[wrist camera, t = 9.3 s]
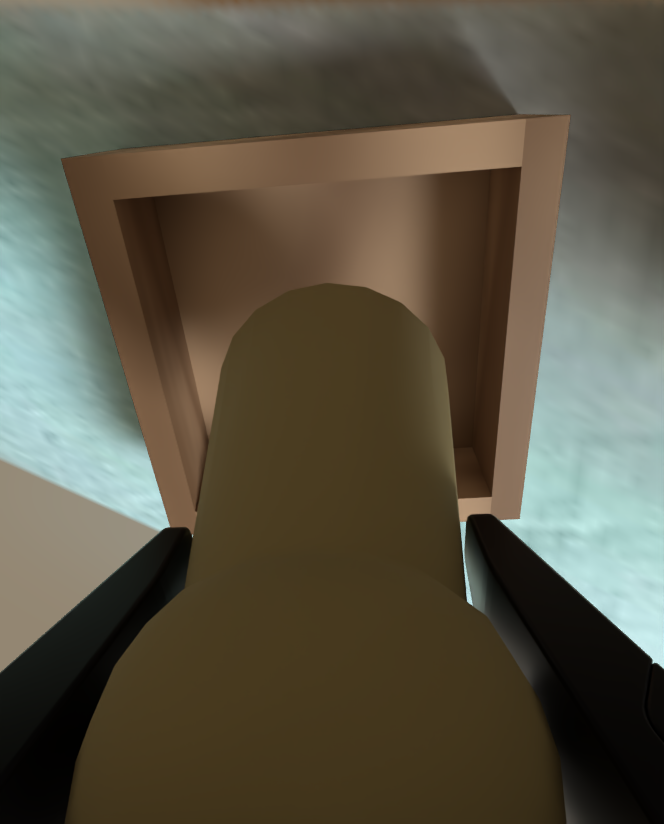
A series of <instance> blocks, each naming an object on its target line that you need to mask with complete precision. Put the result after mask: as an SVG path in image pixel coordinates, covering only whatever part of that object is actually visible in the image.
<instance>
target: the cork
mask: <svg viewBox="0 0 664 824" xmlns="http://www.w3.org/2000/svg"><path fill="white" fill-rule="evenodd" d="M65 824H567V821H566V811H565V801H564V791H563V781H562V771H561V761H560V755H559V753H558V750H557V747H556V744H555V741H554V738H553V735H552V733H551V730H550V727H549V724H548V721H547V718H546V715H545V713H544V710H543V707H542V704H541V701H540V699H539V698H538V696H537V694H536V693H535V691H534V690H533V688H532V686H531V685H530V683H529V682H528V680H527V678H526V677H525V675H524V674H523V672H522V670H521V669H520V667H519V666H518V664H517V662H516V661H515V659H514V658H513V656H512V654H511V653H510V651H509V650H508V648H507V647H506V645H505V644H504V642H503V640H502V639H501V637H500V636H499V634H498V633H497V631H496V629H495V628H494V626H493V625H492V623H491V622H490V620H489V618H488V617H487V616H486V615H485V614H483V613H482V612H480V611H479V610H478V609H476V608H475V607H473V606H472V605H471V604H469V603H468V602H467V597H466V585H465V574H464V563H463V551H462V540H461V529H460V518H459V506H458V495H457V484H456V472H455V461H454V450H453V438H452V427H451V416H450V404H449V393H448V384H447V376H446V368H445V359H444V357H443V355H442V353H441V351H440V349H439V347H438V345H437V343H436V341H435V339H434V337H433V335H432V333H431V332H430V330H429V328H428V327H427V326H426V325H425V324H424V323H423V322H422V321H421V320H420V319H419V318H417V317H416V316H415V315H414V314H413V313H412V312H411V311H410V310H409V309H408V308H407V307H406V306H405V305H403V304H402V303H401V302H399V301H397V300H394V299H392V298H390V297H388V296H385V295H383V294H381V293H379V292H376V291H374V290H372V289H370V288H367V287H362V286H352V285H343V284H334V283H323V284H319V285H314V286H309V287H304V288H299V289H295V290H290V291H287V292H285V293H284V294H282V295H280V296H279V297H277V298H275V299H273V300H272V301H270V302H268V303H266V304H265V305H263V306H261V307H260V308H258V309H256V310H255V311H254V312H253V314H252V315H251V316H250V317H249V318H248V319H247V321H246V322H245V323H244V324H243V325H242V326H241V328H240V329H239V330H238V331H237V332H236V333H235V335H234V336H233V337H232V340H231V343H230V346H229V348H228V351H227V354H226V356H225V359H224V362H223V364H222V367H221V372H220V378H219V384H218V390H217V396H216V402H215V408H214V414H213V420H212V426H211V432H210V438H209V444H208V450H207V456H206V462H205V468H204V474H203V480H202V486H201V492H200V498H199V504H198V510H197V516H196V522H195V528H194V534H193V540H192V546H191V552H190V558H189V564H188V570H187V576H186V582H185V588H184V589H183V590H182V591H181V592H180V593H179V594H178V595H176V596H175V597H174V598H173V599H172V600H171V601H170V602H169V603H168V604H167V605H166V606H165V607H163V608H162V609H161V610H160V611H159V612H158V613H157V614H156V615H155V616H154V617H153V618H152V619H150V620H149V621H148V622H147V623H146V624H145V626H144V627H143V628H142V630H141V631H140V632H139V634H138V635H137V636H136V638H135V639H134V640H133V642H132V643H131V644H130V646H129V647H128V648H127V650H126V651H125V652H124V654H123V655H122V656H121V658H120V659H119V660H118V662H117V663H116V664H115V666H114V668H113V670H112V673H111V675H110V677H109V680H108V682H107V684H106V687H105V689H104V691H103V693H102V696H101V698H100V700H99V703H98V705H97V707H96V710H95V712H94V714H93V716H92V719H91V721H90V724H89V727H88V729H87V732H86V735H85V737H84V740H83V743H82V745H81V748H80V751H79V754H78V756H77V759H76V762H75V767H74V773H73V779H72V784H71V790H70V796H69V801H68V807H67V812H66V818H65Z"/></svg>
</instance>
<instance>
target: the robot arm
mask: <svg viewBox="0 0 664 824" xmlns="http://www.w3.org/2000/svg"><path fill="white" fill-rule="evenodd" d="M192 540H193V538H192V534H191V532H190V530H189V529H188V528H187V527H168V528H165V529H163V530H162V531H160V532H159V533H158V534H157V535H156V536H155V537H154V538H152V539H151V540H150V541H149V542H148V543H147V544H146V545H145V546H143V547H142V548H141V549H140V550H139V551H138V552H137V553H135V554H134V555H133V556H132V557H131V558H130V559H129V560H128V561H126V562H125V563H124V564H123V565H122V566H121V567H120V568H119V569H117V570H116V571H115V572H114V573H113V574H112V575H110V576H109V577H108V578H107V579H106V580H105V581H104V582H102V583H101V584H100V585H99V586H98V587H97V588H96V589H95V590H93V591H92V592H91V593H90V594H89V595H88V596H87V597H85V598H84V599H83V600H82V601H81V602H80V603H79V604H77V605H76V606H75V607H74V608H73V609H72V610H71V611H70V612H68V613H67V614H66V615H65V616H64V617H63V618H62V619H61V620H59V621H58V622H57V623H56V624H55V625H54V626H53V627H51V628H50V629H49V630H48V631H47V632H46V633H45V634H43V635H42V636H41V637H40V638H39V639H38V640H37V641H35V642H34V643H33V644H32V645H31V646H30V647H29V648H27V649H26V650H25V651H24V652H23V653H22V654H21V655H19V656H18V657H17V658H16V659H15V660H14V661H13V662H12V663H10V664H9V665H8V666H7V667H6V668H5V669H4V670H3V671H1V672H0V824H65V818H66V812H67V807H68V801H69V796H70V790H71V784H72V779H73V773H74V767H75V762H76V759H77V756H78V754H79V751H80V748H81V745H82V743H83V740H84V737H85V735H86V732H87V729H88V727H89V724H90V721H91V719H92V716H93V714H94V712H95V710H96V707H97V705H98V703H99V700H100V698H101V696H102V693H103V691H104V689H105V687H106V684H107V682H108V680H109V677H110V675H111V673H112V670H113V668H114V666H115V664H116V663H117V662H118V660H119V659H120V658H121V656H122V655H123V654H124V652H125V651H126V650H127V648H128V647H129V646H130V644H131V643H132V642H133V640H134V639H135V638H136V636H137V635H138V634H139V632H140V631H141V630H142V628H143V627H144V626H145V624H146V623H147V622H148V621H149V620H150V619H152V618H153V617H154V616H155V615H156V614H157V613H158V612H159V611H160V610H161V609H162V608H163V607H165V606H166V605H167V604H168V603H169V602H170V601H171V600H172V599H173V598H174V597H175V596H176V595H178V594H179V593H180V592H181V591H182V590H183V589H184V588H185V582H186V576H187V570H188V564H189V558H190V552H191V546H192ZM465 563H466V569H467V575H468V580H469V586H470V591H471V597H472V603H473V607H475V608H476V609H478V610H479V611H480V612H482V613H483V614H485V615H486V616H487V617H488V618H489V620H490V622H491V623H492V625H493V626H494V628H495V629H496V631H497V633H498V634H499V636H500V637H501V639H502V640H503V642H504V644H505V645H506V647H507V648H508V650H509V651H510V653H511V654H512V656H513V658H514V659H515V661H516V662H517V664H518V666H519V667H520V669H521V670H522V672H523V674H524V675H525V677H526V678H527V680H528V682H529V683H530V685H531V686H532V688H533V690H534V691H535V693H536V694H537V696H538V698H539V699H540V701H541V704H542V707H543V710H544V713H545V715H546V718H547V721H548V724H549V727H550V730H551V733H552V735H553V738H554V741H555V744H556V747H557V750H558V753H559V755H560V761H561V771H562V781H563V791H564V801H565V811H566V821H567V824H664V669H663V668H662V667H661V666H660V665H659V664H657V663H653V664H652V662H653V660H652V658H651V657H650V656H649V655H648V654H646V653H645V652H644V651H643V650H642V649H641V648H640V647H639V646H638V645H636V644H635V643H634V642H633V641H632V640H631V639H630V638H629V637H628V636H627V635H625V634H624V633H623V632H622V631H621V630H620V629H619V628H618V627H617V626H616V625H614V624H613V623H612V622H611V621H610V620H609V619H608V618H607V617H606V616H605V615H603V614H602V613H601V612H600V611H599V610H598V609H597V608H596V607H595V606H593V605H592V604H591V603H590V602H589V601H588V600H587V599H586V598H585V597H584V596H582V595H581V594H580V593H579V592H578V591H577V590H576V589H575V588H574V587H573V586H571V585H570V584H569V583H568V582H567V581H566V580H565V579H564V578H563V577H562V576H560V575H559V574H558V573H557V572H556V571H555V570H554V569H553V568H552V567H551V566H549V565H548V564H547V563H546V562H545V561H544V560H543V559H542V558H541V557H539V556H538V555H537V554H536V553H535V552H534V551H533V550H532V549H531V548H530V547H528V546H527V545H526V544H525V543H524V542H523V541H522V540H521V539H520V538H519V537H517V536H516V535H515V534H514V533H513V532H512V531H511V530H510V529H509V528H508V527H506V526H505V525H504V524H503V523H502V522H501V521H500V520H499V519H498V518H496V517H495V516H494V515H492V514H471V515H469V516H468V517H467V520H466V535H465Z"/></svg>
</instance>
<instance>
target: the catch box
mask: <svg viewBox="0 0 664 824" xmlns="http://www.w3.org/2000/svg"><path fill="white" fill-rule="evenodd" d="M570 116H571V115H526V114H519V115H507V116H496V117H484V118H472V119H461V120H449V121H438V122H426V123H415V124H403V125H392V126H380V127H369V128H357V129H345V130H334V131H322V132H311V133H299V134H288V135H276V136H265V137H253V138H242V139H230V140H219V141H207V142H195V143H184V144H172V145H161V146H149V147H138V148H126V149H118V150H112V151H106V152H99V153H93V154H87V155H81V156H75V157H69V158H63V159H61V161H62V165H63V168H64V171H65V175H66V178H67V181H68V185H69V188H70V191H71V195H72V198H73V201H74V205H75V208H76V212H77V215H78V218H79V222H80V225H81V228H82V232H83V235H84V238H85V242H86V245H87V249H88V252H89V255H90V259H91V262H92V265H93V269H94V272H95V275H96V279H97V282H98V286H99V289H100V292H101V296H102V299H103V302H104V306H105V309H106V312H107V316H108V319H109V323H110V326H111V329H112V333H113V336H114V339H115V343H116V346H117V349H118V353H119V356H120V359H121V363H122V366H123V370H124V373H125V376H126V380H127V383H128V386H129V390H130V393H131V396H132V400H133V403H134V407H135V410H136V413H137V417H138V420H139V423H140V427H141V430H142V433H143V437H144V440H145V444H146V447H147V450H148V454H149V457H150V460H151V464H152V467H153V470H154V474H155V477H156V481H157V484H158V487H159V491H160V494H161V497H162V501H163V504H164V507H165V511H166V514H167V517H168V521H169V524H170V527H187V528H188V529H189V530H190V532H191V534H192V535H193V534H194V528H195V522H196V516H197V510H198V504H199V498H200V492H201V486H202V480H203V474H204V468H205V462H206V456H207V450H208V444H209V438H210V432H211V426H212V420H213V414H214V408H215V402H216V396H217V390H218V384H219V378H220V372H221V367H222V364H223V362H224V359H225V356H226V354H227V351H228V348H229V346H230V343H231V340H232V337H233V336H234V335H235V333H236V332H237V331H238V330H239V329H240V328H241V326H242V325H243V324H244V323H245V322H246V321H247V319H248V318H249V317H250V316H251V315H252V314H253V312H254V311H255V310H256V309H258V308H260V307H261V306H263V305H265V304H266V303H268V302H270V301H272V300H273V299H275V298H277V297H279V296H280V295H282V294H284V293H285V292H287V291H290V290H295V289H299V288H304V287H309V286H314V285H319V284H323V283H334V284H343V285H352V286H362V287H367V288H370V289H372V290H374V291H376V292H379V293H381V294H383V295H385V296H388V297H390V298H392V299H394V300H397V301H399V302H401V303H402V304H403V305H405V306H406V307H407V308H408V309H409V310H410V311H411V312H412V313H413V314H414V315H415V316H416V317H417V318H419V319H420V320H421V321H422V322H423V323H424V324H425V325H426V326H427V327H428V328H429V330H430V332H431V333H432V335H433V337H434V339H435V341H436V343H437V345H438V347H439V349H440V351H441V353H442V355H443V357H444V359H445V368H446V376H447V384H448V393H449V404H450V416H451V427H452V438H453V450H454V461H455V472H456V484H457V495H458V506H459V518H460V522H465V521H466V520H467V517H468V516H469V515H471V514H492V515H494V516H495V517H496V518H498V519H499V520H507V519H520V511H521V503H522V495H523V488H524V480H525V472H526V464H527V456H528V448H529V440H530V432H531V424H532V416H533V408H534V401H535V393H536V385H537V377H538V369H539V361H540V353H541V345H542V337H543V329H544V321H545V314H546V306H547V298H548V290H549V282H550V274H551V266H552V258H553V250H554V242H555V234H556V227H557V219H558V211H559V203H560V195H561V187H562V179H563V171H564V163H565V155H566V147H567V139H568V132H569V124H570Z"/></svg>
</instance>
